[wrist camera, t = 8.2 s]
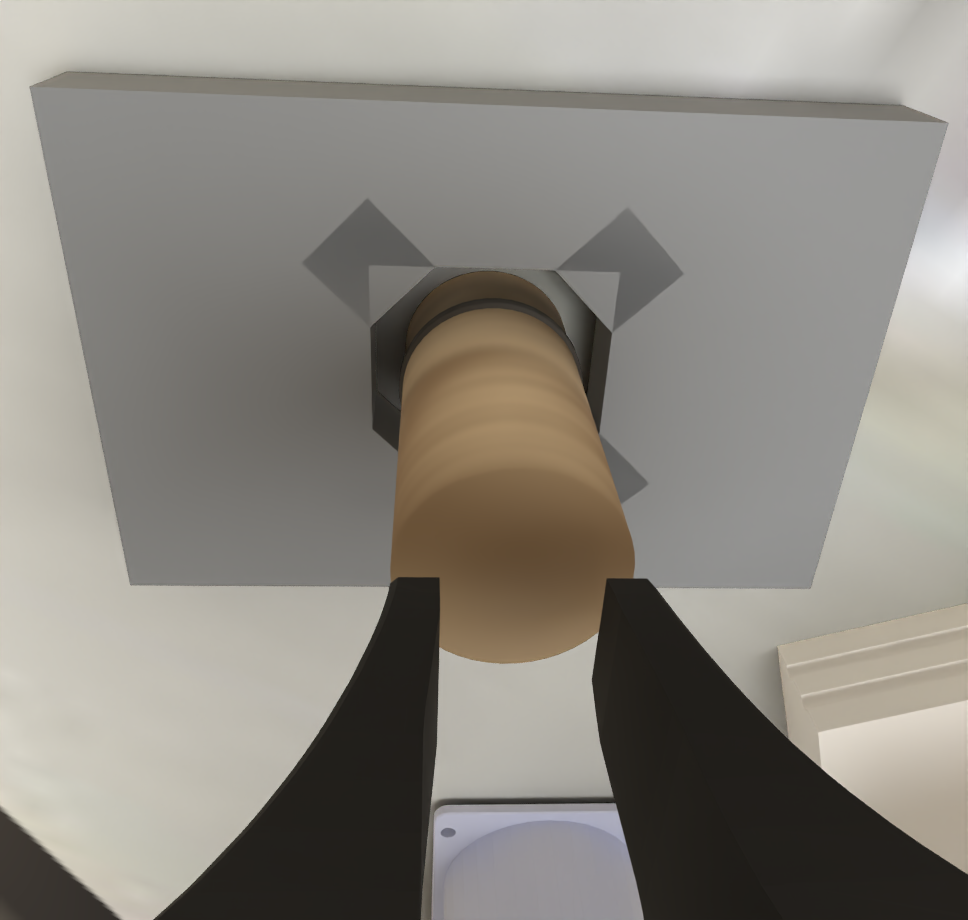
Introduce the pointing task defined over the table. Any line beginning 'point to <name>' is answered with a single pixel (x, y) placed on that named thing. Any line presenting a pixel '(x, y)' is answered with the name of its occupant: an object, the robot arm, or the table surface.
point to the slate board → (472, 244)
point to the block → (890, 720)
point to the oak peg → (503, 474)
